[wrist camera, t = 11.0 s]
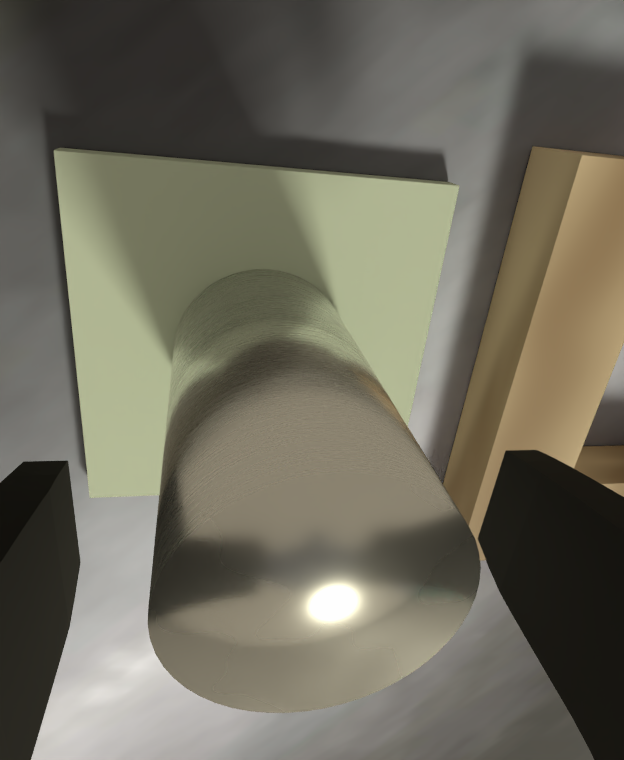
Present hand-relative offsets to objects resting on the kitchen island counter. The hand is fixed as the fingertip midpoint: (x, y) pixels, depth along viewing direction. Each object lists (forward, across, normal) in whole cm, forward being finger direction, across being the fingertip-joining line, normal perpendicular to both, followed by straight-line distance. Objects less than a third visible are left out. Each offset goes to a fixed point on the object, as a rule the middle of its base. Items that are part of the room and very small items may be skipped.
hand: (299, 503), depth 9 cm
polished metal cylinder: (+6, 0, 0) cm, 6 cm away
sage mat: (+6, 0, 0) cm, 6 cm away
